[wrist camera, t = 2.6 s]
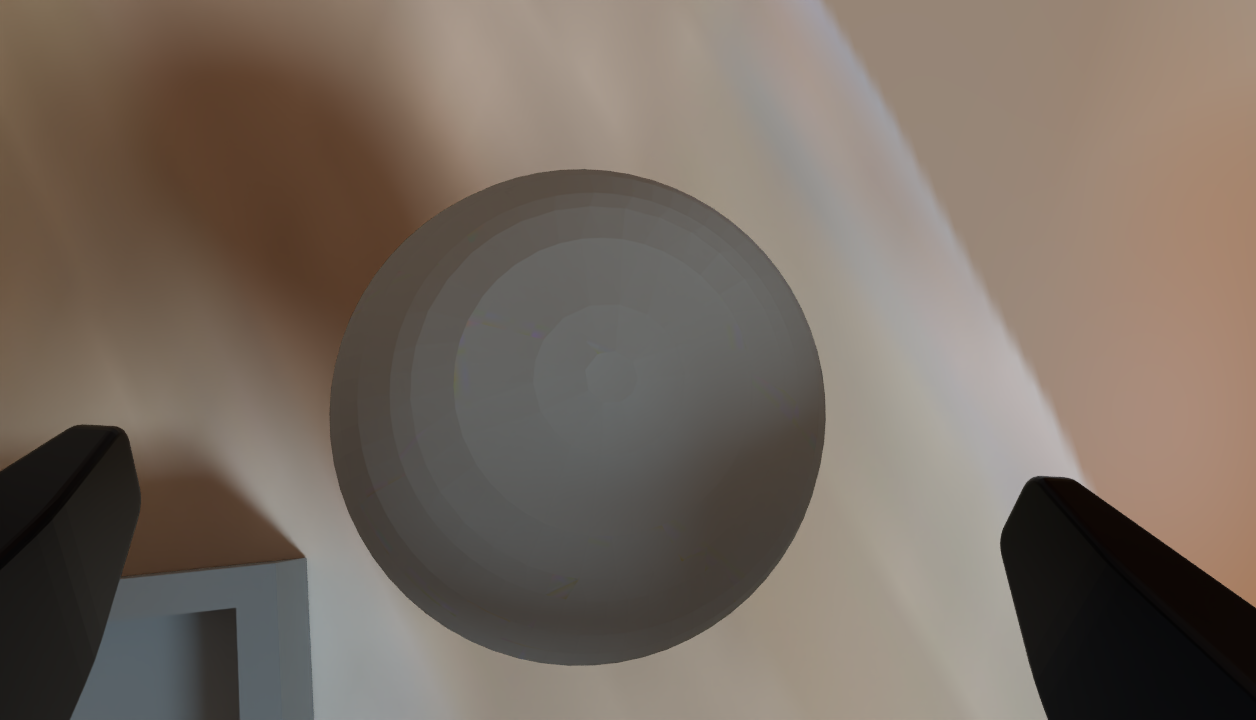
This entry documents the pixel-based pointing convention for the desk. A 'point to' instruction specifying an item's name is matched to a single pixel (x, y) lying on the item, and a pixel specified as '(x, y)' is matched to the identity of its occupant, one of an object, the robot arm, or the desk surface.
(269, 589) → the tray
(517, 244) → the light bulb
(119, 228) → the desk surface
